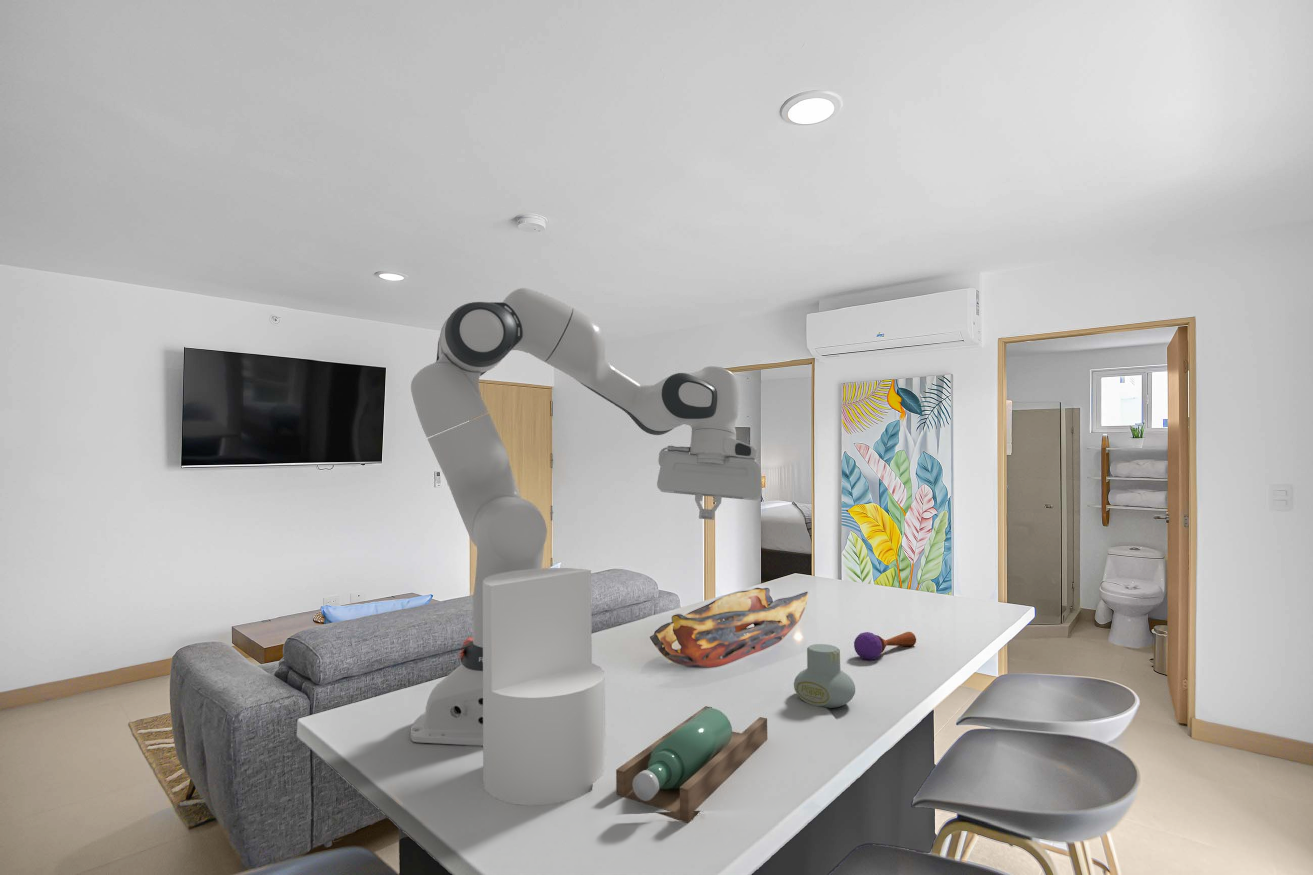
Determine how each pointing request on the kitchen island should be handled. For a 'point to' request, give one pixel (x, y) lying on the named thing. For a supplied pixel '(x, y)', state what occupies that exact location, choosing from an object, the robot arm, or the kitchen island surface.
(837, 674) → the air freshener
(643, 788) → the bottle
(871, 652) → the purple maraca
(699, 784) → the u rest
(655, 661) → the kitchen island surface
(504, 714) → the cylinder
